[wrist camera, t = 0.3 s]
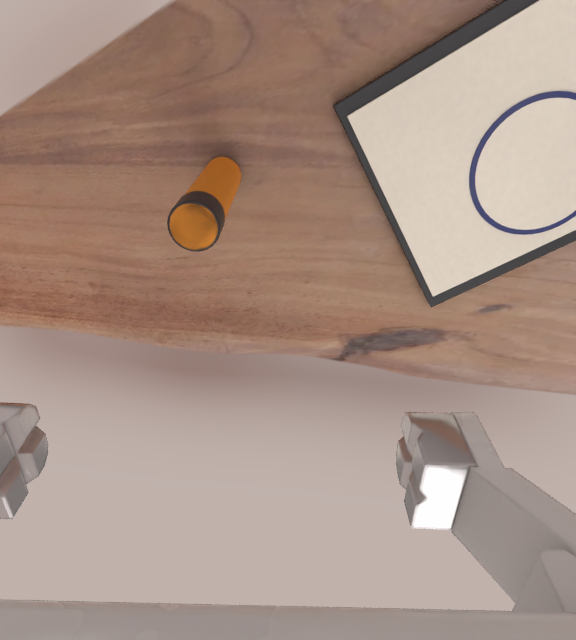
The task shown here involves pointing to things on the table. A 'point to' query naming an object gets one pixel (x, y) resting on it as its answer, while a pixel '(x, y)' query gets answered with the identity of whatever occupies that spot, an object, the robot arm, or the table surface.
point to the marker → (205, 206)
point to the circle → (528, 166)
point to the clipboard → (459, 138)
